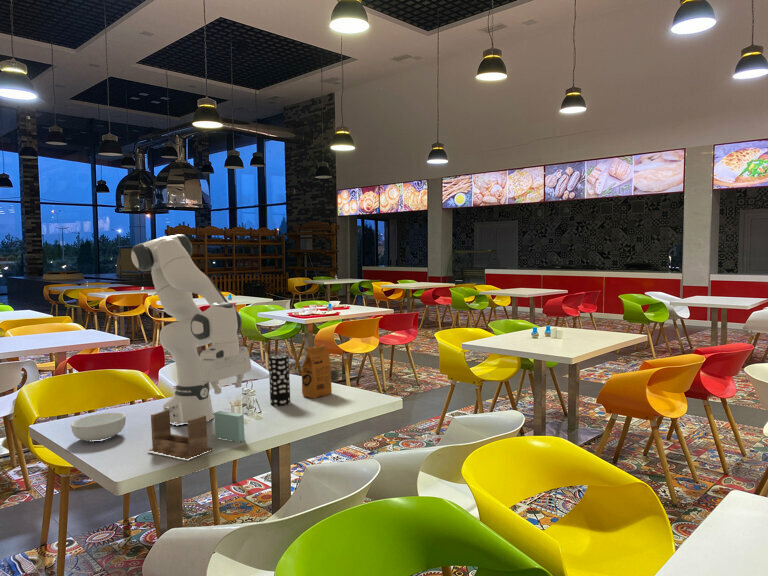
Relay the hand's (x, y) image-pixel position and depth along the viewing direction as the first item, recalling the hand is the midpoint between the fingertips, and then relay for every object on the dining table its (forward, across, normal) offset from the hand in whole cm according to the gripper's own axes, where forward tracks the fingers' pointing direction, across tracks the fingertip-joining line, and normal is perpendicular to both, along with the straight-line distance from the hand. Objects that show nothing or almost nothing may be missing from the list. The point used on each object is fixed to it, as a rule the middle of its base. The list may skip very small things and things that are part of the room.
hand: (228, 390), depth 187 cm
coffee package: (+17, -62, -9) cm, 65 cm away
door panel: (+17, 0, -1) cm, 17 cm away
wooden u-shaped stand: (+17, +16, -7) cm, 24 cm away
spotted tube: (+17, -44, -15) cm, 49 cm away
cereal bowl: (+16, +18, -45) cm, 51 cm away
